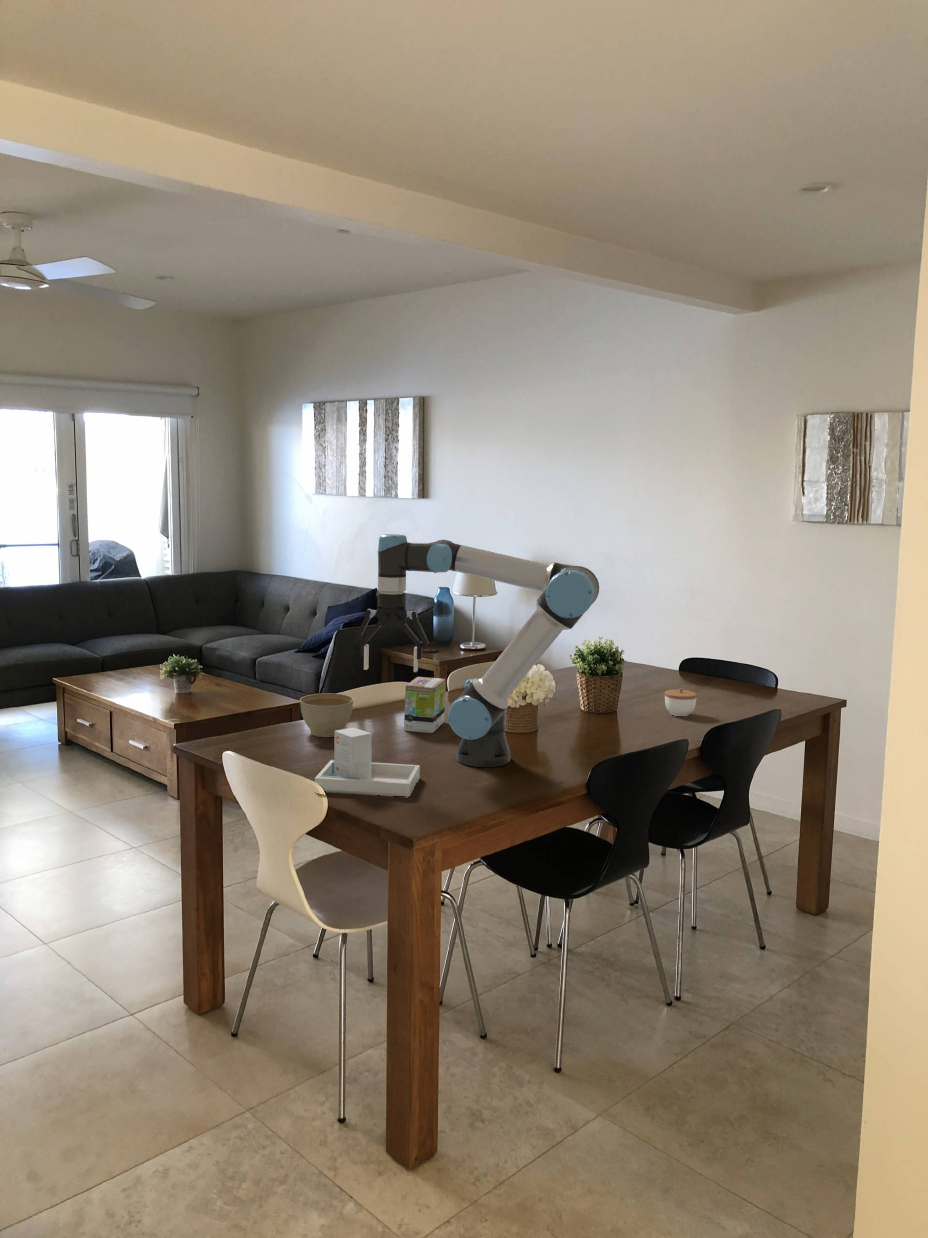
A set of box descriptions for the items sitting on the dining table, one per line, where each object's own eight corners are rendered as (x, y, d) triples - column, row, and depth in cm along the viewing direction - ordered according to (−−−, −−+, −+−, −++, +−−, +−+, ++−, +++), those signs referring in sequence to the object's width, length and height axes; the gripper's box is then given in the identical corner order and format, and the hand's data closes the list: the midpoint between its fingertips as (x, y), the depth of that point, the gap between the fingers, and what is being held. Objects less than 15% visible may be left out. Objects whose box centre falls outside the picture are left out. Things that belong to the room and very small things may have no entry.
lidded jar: (701, 717, 334) (703, 690, 333) (675, 719, 330) (676, 692, 329) (683, 710, 344) (685, 684, 342) (657, 712, 340) (659, 685, 339)
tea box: (434, 734, 305) (435, 687, 302) (403, 731, 306) (403, 684, 304) (445, 722, 319) (446, 677, 317) (415, 720, 321) (415, 675, 319)
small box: (372, 782, 253) (372, 733, 251) (352, 787, 249) (352, 737, 247) (353, 775, 259) (353, 726, 257) (333, 779, 255) (333, 730, 253)
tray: (419, 778, 260) (419, 765, 259) (409, 797, 244) (409, 784, 244) (330, 772, 263) (330, 760, 262) (314, 791, 247) (314, 778, 246)
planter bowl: (289, 732, 301) (289, 698, 300) (331, 724, 312) (332, 691, 311) (320, 744, 290) (320, 708, 288) (363, 734, 301) (364, 700, 300)
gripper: (439, 592, 266) (438, 669, 269) (349, 588, 269) (348, 665, 272) (436, 595, 259) (434, 674, 262) (343, 592, 261) (342, 670, 264)
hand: (390, 670), depth 267 cm, fingers open, 13 cm apart
